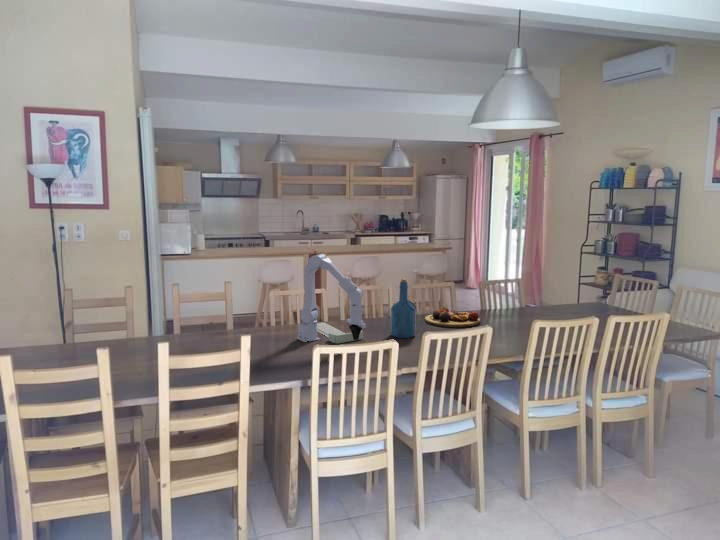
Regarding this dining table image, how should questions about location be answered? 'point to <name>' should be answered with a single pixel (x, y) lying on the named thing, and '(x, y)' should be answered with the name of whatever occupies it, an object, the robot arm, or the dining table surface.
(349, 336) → the end cap
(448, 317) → the wooden plate with food
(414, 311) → the wine bottle
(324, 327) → the baseboard molding
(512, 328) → the dining table surface
